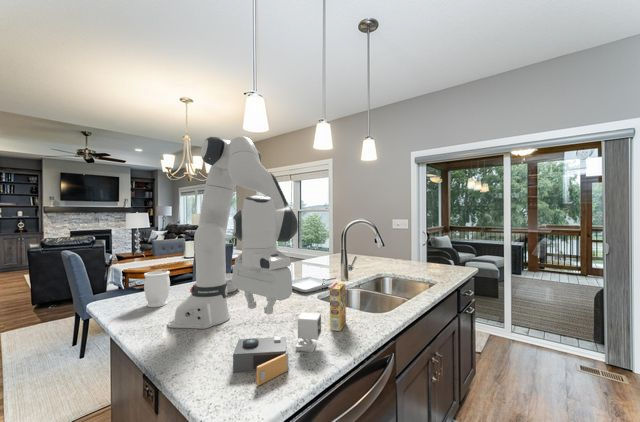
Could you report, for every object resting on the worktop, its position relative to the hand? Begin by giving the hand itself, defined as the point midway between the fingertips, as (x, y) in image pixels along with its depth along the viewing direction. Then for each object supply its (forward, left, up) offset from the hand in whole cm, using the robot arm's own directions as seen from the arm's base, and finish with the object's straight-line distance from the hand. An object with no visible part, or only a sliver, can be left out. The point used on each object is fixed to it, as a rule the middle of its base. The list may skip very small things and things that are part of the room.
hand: (260, 310), depth 75 cm
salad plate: (+17, +86, -18) cm, 89 cm away
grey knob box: (-1, +7, -17) cm, 19 cm away
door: (+4, -1, -17) cm, 17 cm away
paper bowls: (-27, +85, -17) cm, 90 cm away
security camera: (+13, +15, -17) cm, 26 cm away
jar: (-54, +65, -17) cm, 86 cm away
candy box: (+25, +30, -17) cm, 43 cm away
